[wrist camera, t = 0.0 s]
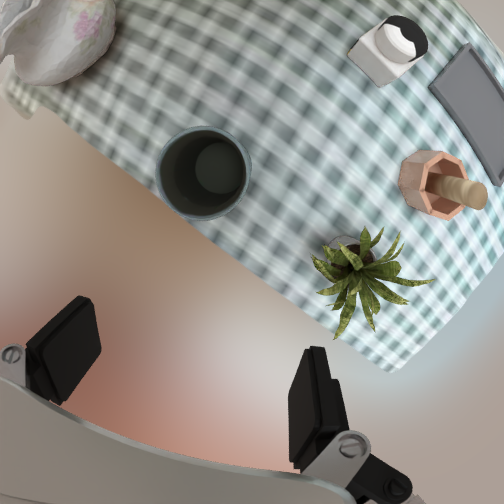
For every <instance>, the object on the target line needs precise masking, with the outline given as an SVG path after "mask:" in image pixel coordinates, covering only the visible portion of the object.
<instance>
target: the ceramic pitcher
mask: <svg viewBox="0 0 504 504" xmlns="http://www.w3.org/2000/svg"><path fill="white" fill-rule="evenodd" d="M115 15H116V9H115V4H114V1H113V0H5V1H4V3H3V5H2V8H1V10H0V64H1V62H2V61H3V59H4V58H5V56H7V55H11V54H13V55H14V64H15V70H16V73H17V75H18V76H19V77H20V78H21V80H22V81H23V82H24V83H27V84H31V85H35V86H49V85H55V84H58V83H61V82H63V81H66V80H68V79H69V78H71V77H73V76H74V77H77V76H79V75H81V74H82V73H83V72H84V71H85V70H86V69H88V68H89V67H90V66H91V65H92V64H94V63H95V62H96V61H97V60H98V59H99V58H101V57H102V56H103V55H104V54H105V53H106V51H107V50H108V48H109V47H110V45H111V43H112V41H113V38H114V35H115V31H116V27H115V26H114V24H115Z"/></svg>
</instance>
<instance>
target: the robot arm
mask: <svg viewBox="0 0 504 504" xmlns="http://www.w3.org/2000/svg"><path fill="white" fill-rule="evenodd" d="M26 346H27V348H26V349H24V348H23V347H22V346H21V345H19V344H9V345H7V346H5V347H4V348H3V349H2V350H1V351H0V504H426V503H425V502H424V501H423V500H422V499H421V498H420V497H419V496H418V495H416V496H414V495H413V494H412V488H413V487H412V483H411V481H410V479H409V478H408V477H407V476H406V475H404V474H402V473H400V472H399V471H398V470H396V469H394V468H392V467H391V466H389V465H388V464H386V463H385V462H383V461H382V460H380V459H378V458H377V457H375V456H374V455H372V454H371V453H370V452H371V444H370V441H369V440H368V438H367V437H366V436H365V435H363V434H362V433H360V432H357V431H352V430H349V425H348V420H347V415H346V411H345V406H344V401H343V397H342V392H341V388H340V384H339V381H338V380H337V379H331V374H330V369H329V365H328V360H327V355H326V351H325V348H324V347H316V346H310V348H309V349H305V350H304V353H303V356H302V359H301V361H300V364H299V367H298V369H297V372H296V375H295V377H294V380H293V382H292V385H291V388H290V390H289V394H288V412H289V413H288V415H289V461H290V462H293V463H294V469H300V473H301V474H296V473H289V472H281V471H272V470H264V469H256V468H248V467H241V466H235V465H229V464H223V463H217V462H212V461H207V460H202V459H198V458H193V457H189V456H185V455H181V454H177V453H173V452H169V451H166V450H163V449H159V448H156V447H152V446H150V445H146V444H143V443H141V442H137V441H135V440H132V439H129V438H127V437H124V436H121V435H118V434H116V433H114V432H111V431H109V430H106V429H104V428H102V427H99V426H97V425H94V424H92V423H90V422H88V421H86V420H84V419H82V418H80V417H78V416H75V415H73V414H72V413H69V412H68V411H66V410H64V409H62V408H60V407H58V406H56V405H54V404H53V403H51V402H49V400H50V399H51V401H52V402H54V403H56V404H57V405H59V406H60V405H61V404H62V402H63V401H66V400H67V399H68V398H69V396H70V395H71V394H72V392H73V391H74V389H75V388H76V386H77V385H78V384H79V382H80V381H81V379H82V378H83V377H84V375H85V374H86V372H87V371H88V370H89V368H90V367H91V366H92V364H93V363H94V362H95V360H96V359H97V358H98V356H99V355H100V353H101V343H100V338H99V333H98V328H97V322H96V316H95V311H94V305H93V303H92V302H91V300H90V299H89V298H86V297H83V296H77V297H76V298H75V299H74V300H73V301H71V302H70V303H69V304H68V305H67V306H66V307H65V308H64V309H63V310H61V311H60V312H59V313H58V314H57V315H56V316H55V317H54V318H52V319H51V320H50V321H49V322H48V323H47V324H46V325H45V326H44V327H43V328H42V329H41V330H39V332H37V333H36V334H35V335H34V336H33V337H32V338H31V339H30V340H29V341H28V342H27V343H26Z"/></svg>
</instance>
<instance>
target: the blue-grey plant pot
mask: <svg viewBox="0 0 504 504" xmlns="http://www.w3.org/2000/svg"><path fill="white" fill-rule="evenodd" d="M250 174H251V159H250V156H249V154H248V152H247V150H246V149H245V148H244V147H243V145H241V144H240V143H239V142H238V141H237V140H236V139H235V138H234V137H233V136H232V135H230V134H229V133H227V132H225V131H223V130H221V129H219V128H215V127H210V126H197V127H192V128H188V129H186V130H184V131H182V132H180V133H178V134H177V135H175V136H174V137H172V138H171V139H170V140H169V141H168V142H167V143H166V145H165V146H164V147H163V149H162V151H161V153H160V155H159V157H158V161H157V164H156V183H157V187H158V190H159V193H160V195H161V197H162V198H163V200H164V201H165V203H166V204H167V205H168V206H169V207H170V208H171V209H172V210H173V211H174V212H176V213H177V214H179V215H180V216H183V217H185V218H188V219H192V220H197V221H208V220H213V219H216V218H218V217H221V216H223V215H225V214H227V213H228V212H230V211H231V210H232V209H234V208H235V207H236V206H237V204H238V203H239V202H240V201H241V199H242V198H243V196H244V195H245V193H246V190H247V188H248V184H249V179H250Z"/></svg>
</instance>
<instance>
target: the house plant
mask: <svg viewBox="0 0 504 504" xmlns="http://www.w3.org/2000/svg"><path fill="white" fill-rule="evenodd" d="M383 230H384V227H383V228H382V230H381V231H380V232H379V234H378V235H377V236H376V237H375V239H374V240H373V241H372V242H371V237H370V234H369V232H368V231H367V229H366V227H365V228H364V230H363V231H362V233H361V236H360V241H358V240H356V239H354V238H352V237H349V236H339V237H337V238H335V239H334V240H332V241H331V243H330V244H329V246H326V245H325V244H324V245H325V247H324V246H323V245H322V247H323V249H324V253H325V256H326V258H327V261H328V263H327V262H325V261H322V260H318V259H317V258H316V257H315V256H314V255H312V256H313V258H314V259H313V258H312V257H311V258H312V260H313V263H314V266H315V267H316V269H317V270H318V271H320V272H321V273H322V274H323V275H324V276H325V277H326V278H327V279H328V280H329V281H331V282H333V283H334V285H333V286H332V287H330V288H327V289H323V290H321V291H319V292H316V293H318V294H322V295H326V296H327V295H334V294H336V293H339V292H340V294H339V296H338V298H337V300H336V302H335V303H333V304H329V305H334V307H333V309H332V310H339V309H340V308H341V307H342V306H343V305H344V303H345V305H344V307H343V310H342V312H341V314H340V324H339V327H338V329H337V331H336V333H335V337H334V339H336V338H337V337H338V336H339V335H340V334H341V333H342V332H343V331H344V330H345V328H346V327H347V325H348V323H349V321H350V319H351V316H352V314H353V312H354V310H355V307H356V295H357V292H358V291H359V296H360V299H361V303H362V307H363V311H364V314H365V317H366V319H367V321H368V323H369V324H370V326H371V327H372V329H373V330H374V331H375V326H374V324H373V317H372V315H373V312H374V313H375V314H377V313H378V312H379V310H380V303H379V301H378V299H377V298H376V297H375V295H374V294H373V292H372V291H371V289H372V290H373V291H374V292H376V293H377V294H378V295H380V296H381V297H382V298H384V299H385V300H387V301H389V302H392V303H395V304H400V305H403V304H405V305H407V303H406V302H409V301H408V300H406V299H403V298H402V297H400V296H399V295H397V294H396V293H394V292H393V291H391V290H390V289H389V288H388V287H387V286H385V285H384V284H383V283H381V282H380V281H378V280H376V279H375V278H377V279H381V280H385V281H390V282H393V283H397V284H401V285H405V286H411V287H414V286H419V285H423V284H427V283H430V282H432V281H434V280H436V279H433V280H421V281H417V280H406V279H402V278H399V277H395V276H396V275H398V273H399V272H400V270H401V266H400V264H399V262H397V261H390V260H393V259H394V258H396V257H397V256H398V255H399V253H400V251H401V250H402V248H403V245H404V243H403V245H402V246H401V248H400V249H399V250H398V252H397V253H396V254H395V255H394V256H392V255H393V253H394V251H395V248H396V246H397V243H398V241H399V238H400V233H399V234H398V236H397V238H396V240H395V241H394V243H393V245H392V246H391V248H390V249H389V250H388V252H387V253H386V254H385V255H384V256H383V257H382V258H381V259H379V260H378V261H377V258H376V255H375V253H374V251H373V250H372V249H371V248H372V247H373V246H374V245H376V244H377V243H378V242H379V240H380V238H381V235H382V233H383ZM400 232H401V231H400ZM310 254H311V253H310ZM391 256H392V257H391ZM390 257H391V258H390ZM389 258H390V259H389ZM387 259H388V260H387ZM388 261H389V262H388ZM384 262H387V263H384ZM381 263H383V264H381ZM367 284H368V285H369V286H368V285H367ZM369 287H370V288H371V289H370V288H369ZM347 290H348V295H347ZM346 297H347V299H346ZM345 301H346V302H345ZM368 304H369V305H368ZM329 305H326V306H329ZM369 306H370V309H371V310H372V314H371V311H370V309H369ZM334 339H333V340H334Z"/></svg>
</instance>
